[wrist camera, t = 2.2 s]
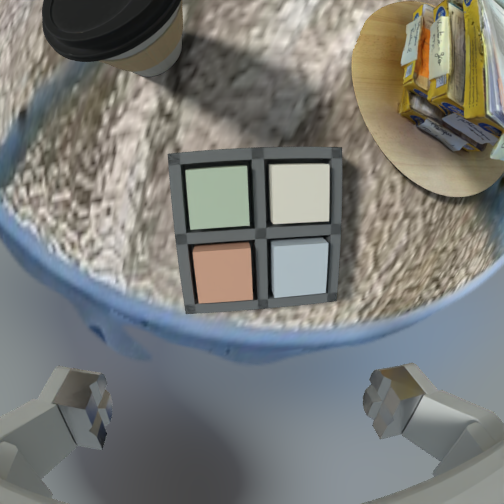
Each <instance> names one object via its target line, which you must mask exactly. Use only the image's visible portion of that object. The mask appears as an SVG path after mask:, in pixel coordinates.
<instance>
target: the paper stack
mask: <svg viewBox="0 0 504 504" xmlns="http://www.w3.org/2000/svg"><path fill="white" fill-rule="evenodd" d="M356 42H357V44H356V45H355V48H354V49H353V55H352V79H353V86H354V91H355V95H356V99H357V102H358V105H359V108H360V111H361V114H362V116H363V119H364V121H365V123H366V125H367V127H368V129H369V131H370V133H371V134H372V136H373V138H374V140H375V141H376V143H377V144H378V146H379V147H380V149H381V150H382V151H383V153H384V154H385V155H386V157H387V158H388V159H389V160H390V161H391V162H392V163H393V164H394V165H395V166H396V167H397V168H398V169H399V170H400V171H401V172H402V173H403V174H404V175H405V176H407V177H408V178H409V179H410V180H412V181H413V182H415V183H416V184H418V185H420V186H421V187H423V188H425V189H427V190H429V191H432V192H434V193H437V194H440V195H444V196H450V197H465V196H471V195H474V194H477V193H480V192H482V191H484V190H486V189H487V188H489V187H490V186H491V185H493V184H494V183H495V182H496V181H497V180H498V179H499V178H500V176H501V175H502V174H503V172H504V0H444V1H443V2H441V3H440V4H439V5H438V6H435V5H431V4H428V3H424V2H416V1H404V2H397V3H393V4H389V5H387V6H384V7H382V8H381V9H379V10H377V11H376V12H375V13H373V14H372V15H371V16H370V17H369V18H368V19H367V20H366V21H365V23H364V26H363V28H362V30H361V32H360V36H359V38H358V40H357V41H356Z"/></svg>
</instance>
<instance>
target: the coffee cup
mask: <svg viewBox="0 0 504 504" xmlns="http://www.w3.org/2000/svg"><path fill="white" fill-rule="evenodd" d="M42 17H43V21H42V23H43V31H44V35H45V37H46V39H47V41H48V43H49V44H50V45H51V46H52V47H53V48H54V50H55V51H56V52H57V53H59V54H60V55H62V56H63V57H65V58H68V59H71V60H75V61H81V62H91V61H101V62H103V63H106V64H109V65H111V66H114V67H116V68H119V69H122V70H125V71H131V72H133V73H135V74H138V75H141V76H147V77H151V76H156V75H159V74H161V73H163V72H165V71H166V70H168V69H169V68H170V67H171V66H172V65H173V64H174V63H175V62H176V61H177V59H178V57H179V56H180V53H181V50H182V31H183V16H182V0H44V2H43V7H42Z"/></svg>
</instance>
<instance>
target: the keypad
mask: <svg viewBox="0 0 504 504" xmlns="http://www.w3.org/2000/svg"><path fill="white" fill-rule="evenodd" d="M286 163H324V164H329V166H330V196H329V221H324V222H304V223H285V224H273V223H272V222H271V220H270V212H269V179H268V164H286ZM168 164H169V177H170V189H171V200H172V211H173V220H174V230H175V239H176V247H177V255H178V263H179V271H180V278H181V285H182V292H183V298H184V305H185V311H186V314H195V313H212V312H227V311H240V310H253V309H265V308H276V307H286V306H296V305H306V304H315V303H324V302H333V301H336V300H337V288H338V275H339V260H340V242H341V217H342V147H260V148H236V149H219V150H205V151H193V152H182V153H172V154H168ZM235 165H246V166H247V177H248V199H249V222H250V226H236V227H221V228H207V229H194V230H190V220H189V209H188V198H187V185H186V171H185V170H187V169H193V168H205V167H219V166H235ZM309 237H323V238H324V239H325V240H326V241H327V242H328V264H327V282H326V293H320V294H310V295H300V296H290V297H279V298H274V295H273V292H272V289H271V252H270V240H277V239H293V238H309ZM247 241H249V244H250V248H251V267H252V289H253V300H243V301H230V302H215V303H199V301H198V293H197V285H196V277H195V268H194V260H193V249H194V245H204V244H218V243H232V242H247Z"/></svg>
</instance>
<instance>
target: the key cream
mask: <svg viewBox="0 0 504 504" xmlns="http://www.w3.org/2000/svg"><path fill="white" fill-rule="evenodd" d="M268 179H269V212H270V220H271V222H272V223H273V224H285V223H304V222H324V221H329V196H330V166H329V164H324V163H286V164H268Z"/></svg>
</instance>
